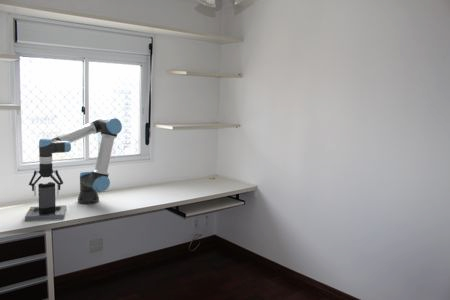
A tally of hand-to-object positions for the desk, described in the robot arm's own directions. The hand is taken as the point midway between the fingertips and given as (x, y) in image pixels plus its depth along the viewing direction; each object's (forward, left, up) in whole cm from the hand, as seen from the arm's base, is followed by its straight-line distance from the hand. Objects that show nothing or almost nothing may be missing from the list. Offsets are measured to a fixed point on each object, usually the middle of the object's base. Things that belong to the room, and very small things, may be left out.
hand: (46, 195), depth 244 cm
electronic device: (0, 0, -12) cm, 12 cm away
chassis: (0, 0, -13) cm, 13 cm away
